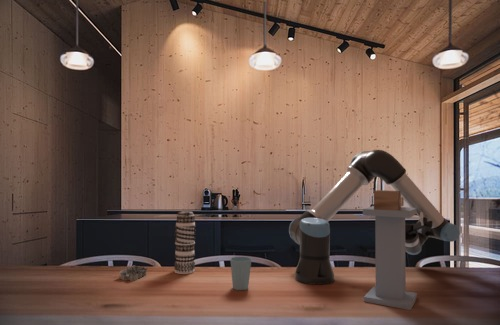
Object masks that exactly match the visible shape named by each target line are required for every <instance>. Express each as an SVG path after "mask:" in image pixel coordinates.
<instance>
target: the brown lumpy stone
mask: <svg viewBox="0 0 500 325" xmlns="http://www.w3.org/2000/svg"><path fill="white" fill-rule="evenodd" d="M148 269H149V268H148V267H146V268H145V266H140V265H135V264H133V265H131V266H130V267H127V268H125V269H124V270H123V269H122V270H120V271H119V275H120V280H121V281H128V280H129V281H130V282H133V281H138V280H139V279H142V278H143V277H144V276H145V277H146V276H147V272H148Z"/></svg>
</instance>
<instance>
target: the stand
mask: <svg viewBox="0 0 500 325" xmlns="http://www.w3.org/2000/svg"><path fill="white" fill-rule="evenodd" d="M415 215H417V210H416V208H411V207H404V206H402V207H401V209H400V210H398V211H393V210H374V205H372V206H369V207H365V208H362V216H373V217H374V218H375V221H374V222H375V227H374V228H375V232H374V233H375V234H374V235H375V285H373V286H371V289H369V290H368V292H366V294H365V295H364V296H363V302H366V303H369V304H377V305H381V306H386V307H387V306H388V307H392V308H398V309H403V310H408V311H412V309H413V306H414V304H415V302H416V300H417V298H418V296H417V295H418V293H417V292H413V291H407V290H406V289H407V287H406V278H407V276H406V275H407V274H406V269H407V268H406V251H405V224H406V219H410V218H412V217H414V216H415Z"/></svg>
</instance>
